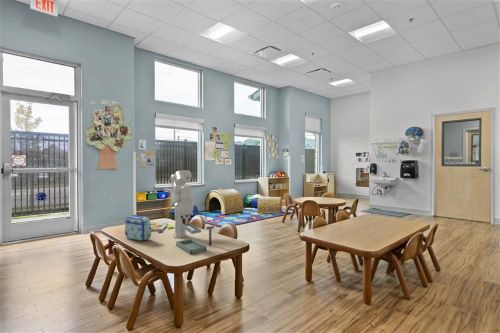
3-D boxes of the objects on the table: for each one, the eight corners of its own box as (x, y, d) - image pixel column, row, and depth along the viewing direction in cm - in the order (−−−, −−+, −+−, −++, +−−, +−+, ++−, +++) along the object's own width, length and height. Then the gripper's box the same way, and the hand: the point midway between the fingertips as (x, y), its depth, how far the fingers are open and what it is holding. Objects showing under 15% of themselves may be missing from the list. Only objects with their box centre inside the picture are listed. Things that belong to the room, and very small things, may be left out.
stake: (206, 245, 225) (206, 227, 225) (212, 244, 229) (212, 225, 228) (207, 246, 223) (207, 227, 223) (214, 245, 227) (214, 226, 227)
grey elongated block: (201, 232, 213) (201, 223, 212) (191, 233, 208) (192, 225, 207) (189, 224, 229) (189, 216, 228) (180, 226, 224) (180, 217, 223)
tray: (176, 245, 225) (176, 241, 225) (191, 242, 233) (191, 238, 233) (190, 254, 204) (190, 249, 204) (206, 250, 212) (206, 246, 212)
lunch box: (123, 238, 246) (123, 215, 246) (133, 235, 256) (133, 213, 255) (141, 243, 233) (141, 218, 232) (152, 239, 242) (152, 216, 241)
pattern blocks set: (138, 226, 293) (138, 223, 293) (171, 223, 305) (171, 221, 305) (138, 235, 258) (138, 232, 257) (174, 232, 270) (174, 229, 270)
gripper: (192, 199, 233) (192, 221, 233) (174, 201, 223) (174, 223, 223) (196, 200, 227) (197, 222, 227) (178, 202, 217) (178, 225, 217)
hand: (185, 223), depth 225 cm, fingers closed on grey elongated block, 3 cm apart
